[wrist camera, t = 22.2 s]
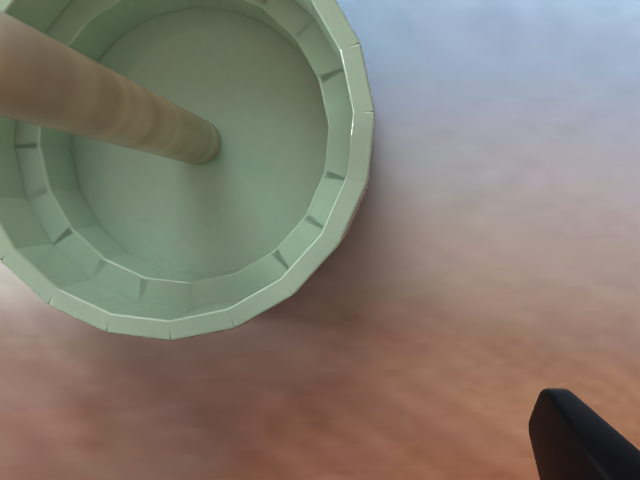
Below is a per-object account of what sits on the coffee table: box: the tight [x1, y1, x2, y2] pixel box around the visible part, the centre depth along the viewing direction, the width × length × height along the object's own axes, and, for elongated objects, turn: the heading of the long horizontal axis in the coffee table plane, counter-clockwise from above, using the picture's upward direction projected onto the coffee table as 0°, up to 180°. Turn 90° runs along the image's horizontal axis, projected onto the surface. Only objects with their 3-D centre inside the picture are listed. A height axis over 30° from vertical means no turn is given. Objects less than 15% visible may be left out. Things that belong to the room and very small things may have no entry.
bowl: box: [0, 0, 375, 340], centre depth 20 cm, size 12×12×5 cm
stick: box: [0, 10, 221, 165], centre depth 15 cm, size 2×2×14 cm
